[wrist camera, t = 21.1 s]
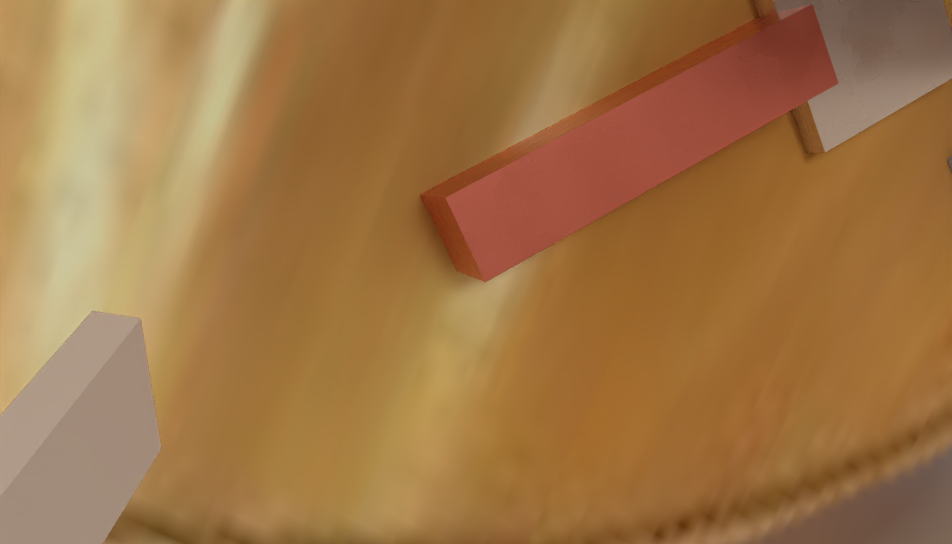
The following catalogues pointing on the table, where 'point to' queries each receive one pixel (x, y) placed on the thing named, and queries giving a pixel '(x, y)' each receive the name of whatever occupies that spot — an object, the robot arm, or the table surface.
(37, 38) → the table surface
